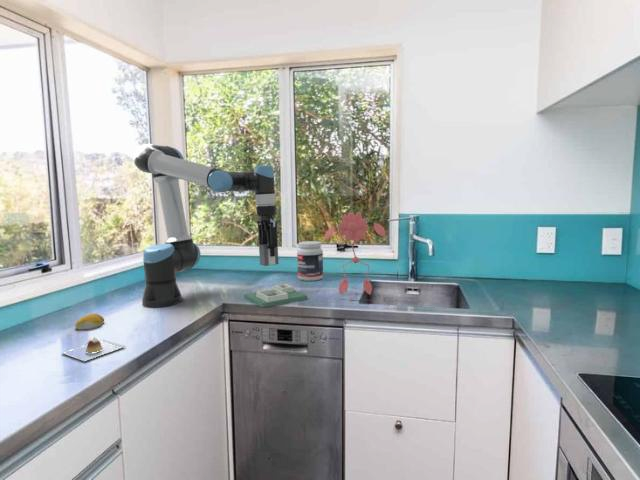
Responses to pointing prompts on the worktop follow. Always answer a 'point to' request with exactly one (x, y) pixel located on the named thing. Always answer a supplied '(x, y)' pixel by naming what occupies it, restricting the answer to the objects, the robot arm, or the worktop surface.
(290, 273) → the worktop surface
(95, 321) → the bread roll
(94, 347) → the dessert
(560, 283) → the worktop surface
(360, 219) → the pink flower sprig
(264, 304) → the board
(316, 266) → the supplement tub
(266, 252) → the plug
